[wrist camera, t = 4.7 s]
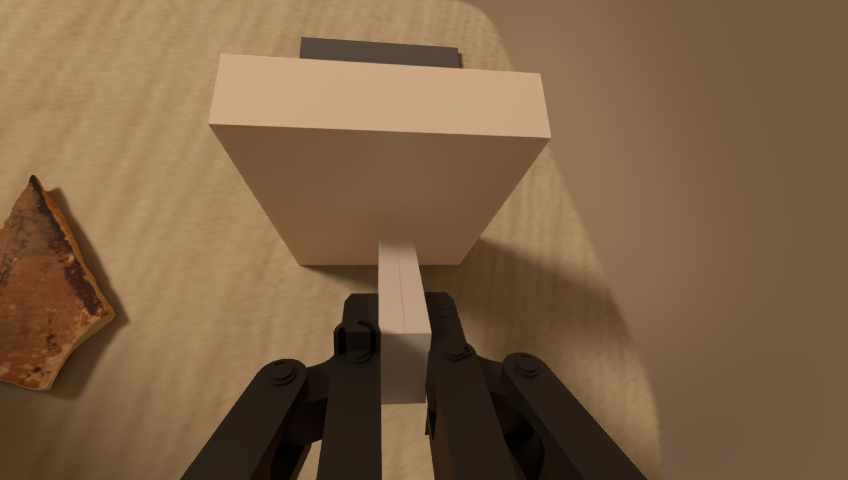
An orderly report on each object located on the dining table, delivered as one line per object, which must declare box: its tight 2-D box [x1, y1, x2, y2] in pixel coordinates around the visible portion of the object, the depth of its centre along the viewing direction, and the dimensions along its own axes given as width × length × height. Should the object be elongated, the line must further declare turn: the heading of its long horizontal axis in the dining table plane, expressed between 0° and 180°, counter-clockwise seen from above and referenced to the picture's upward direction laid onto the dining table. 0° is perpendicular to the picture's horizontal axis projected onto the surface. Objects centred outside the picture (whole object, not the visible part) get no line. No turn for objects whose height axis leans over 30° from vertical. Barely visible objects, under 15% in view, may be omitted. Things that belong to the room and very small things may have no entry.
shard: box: [0, 175, 116, 391], centre depth 22 cm, size 11×8×2 cm
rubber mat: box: [299, 37, 459, 68], centre depth 28 cm, size 12×14×1 cm
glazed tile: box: [208, 54, 551, 265], centre depth 18 cm, size 10×3×14 cm, turn 92°
